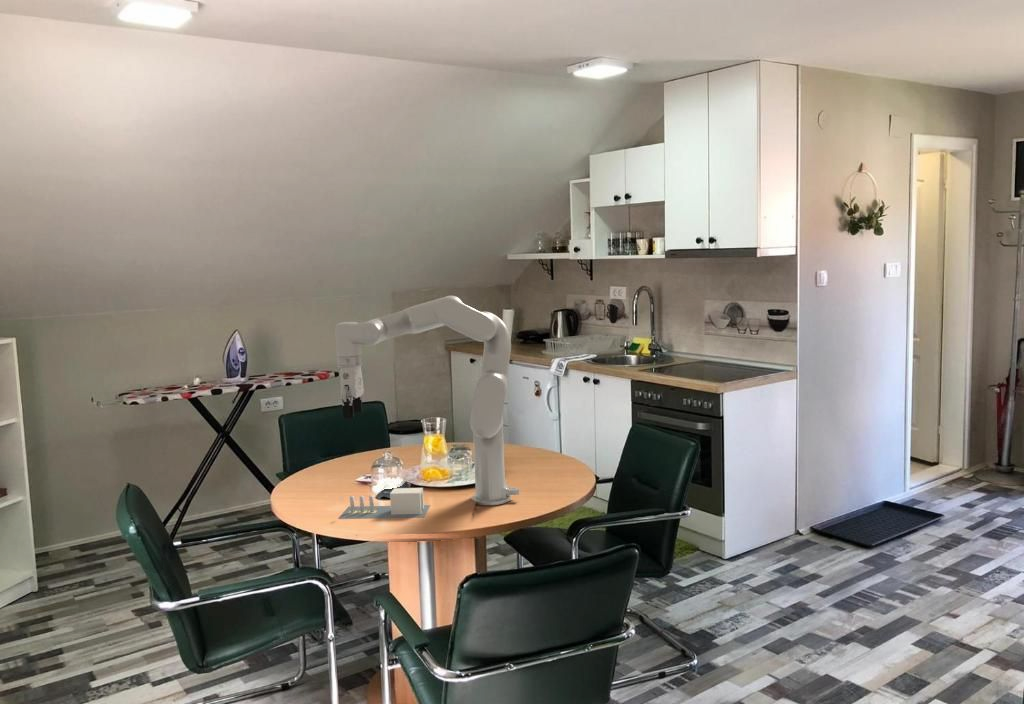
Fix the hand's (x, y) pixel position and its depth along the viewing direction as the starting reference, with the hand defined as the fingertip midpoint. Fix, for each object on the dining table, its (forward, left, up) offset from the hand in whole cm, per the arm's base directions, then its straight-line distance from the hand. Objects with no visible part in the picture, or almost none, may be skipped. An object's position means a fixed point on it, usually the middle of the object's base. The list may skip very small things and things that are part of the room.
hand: (353, 415), depth 265 cm
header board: (-11, +12, -29) cm, 34 cm away
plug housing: (-18, +12, -28) cm, 36 cm away
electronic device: (-9, -8, -30) cm, 32 cm away
